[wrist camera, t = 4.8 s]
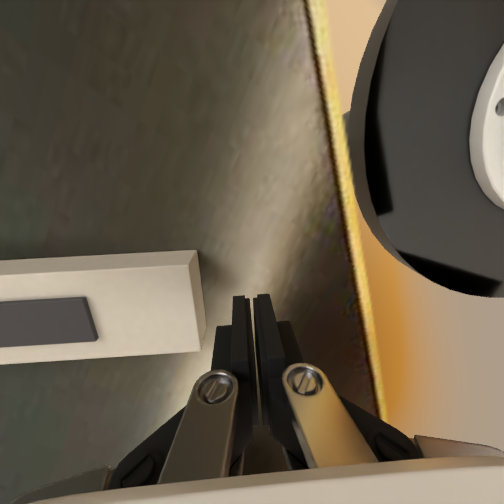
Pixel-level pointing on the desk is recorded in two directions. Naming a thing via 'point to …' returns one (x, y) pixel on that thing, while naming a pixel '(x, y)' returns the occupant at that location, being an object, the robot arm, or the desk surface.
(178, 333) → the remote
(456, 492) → the robot arm
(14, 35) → the desk surface
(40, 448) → the desk surface
